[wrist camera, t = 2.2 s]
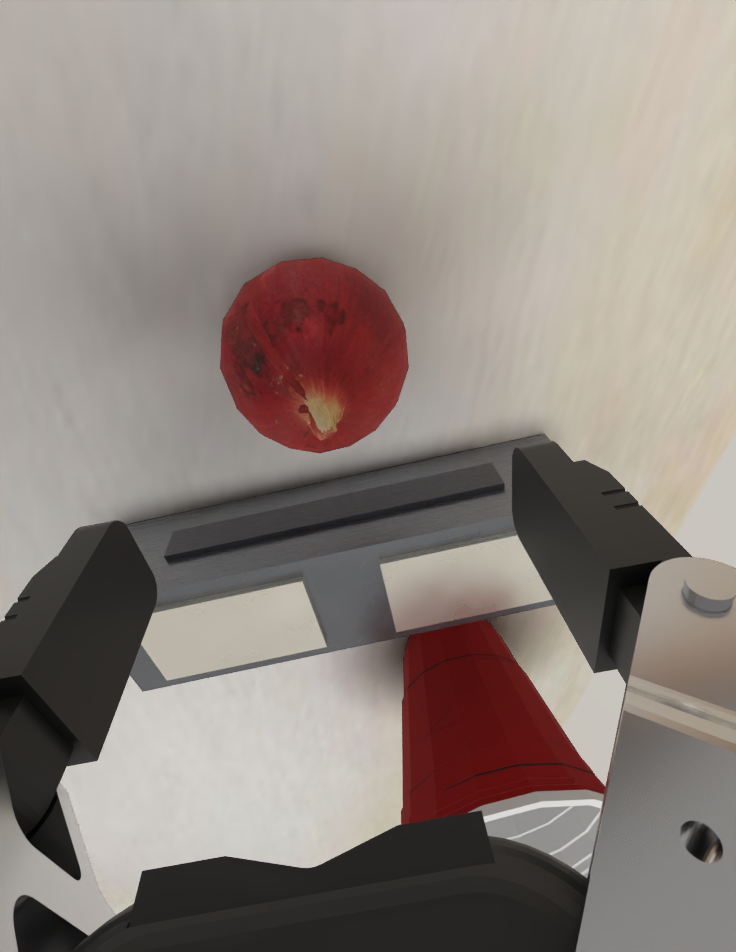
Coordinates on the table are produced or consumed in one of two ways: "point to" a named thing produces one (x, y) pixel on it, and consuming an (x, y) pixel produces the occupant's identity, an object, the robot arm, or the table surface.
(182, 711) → the table surface
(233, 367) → the onion
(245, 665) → the light fixture
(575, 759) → the plastic cup
